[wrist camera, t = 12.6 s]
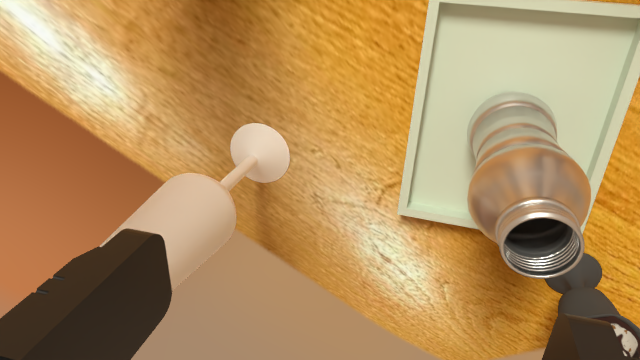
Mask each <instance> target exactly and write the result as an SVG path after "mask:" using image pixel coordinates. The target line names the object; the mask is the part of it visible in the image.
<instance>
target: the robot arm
mask: <svg viewBox="0 0 640 360" xmlns="http://www.w3.org/2000/svg"><path fill="white" fill-rule="evenodd" d="M171 296H172V287H171V280H170V274H169V267H168V260H167V254H166V247H165V242H164V239H163V237H162V236H161V235H159V234H155V233H150V232H145V231H140V230H134V229H129V228H127V229H123V230H121V231H120V232H119V233H118V234H116V235H115V236H114V237H113V238H112V239H110V240H109V241H108V242H107V243H106V244H105V245H103V246H102V247H97V248H94V249H93V250H90V251H88V252H86V253H84V254H82V255H80V256H78V257H76V258H74V259H72V260H71V261H70V262H69V263H68V264H66V265H65V266H64V267H63V268H62V269H60V270H59V271H58V272H57V273H55V274H54V276H53V278H52V279H48V280H47V281H46V282H45V283H43V284H42V285H41V286H40V287H38V288H37V291H36V293H31V294H30V295H29V296H27V297H26V298H25V299H24V300H22V301H21V302H20V303H19V304H18V305H16V306H15V307H14V308H13V309H11V310H10V311H9V312H8V313H7V314H5V315H4V316H3V317H2V318H1V319H0V360H131V358H132V357H133V356H134V354H135V353H136V352H137V351H138V349H139V348H140V347H141V345H142V344H143V343H144V342H145V340H146V339H147V338H148V337H149V335H150V334H151V333H152V331H153V330H154V329H155V328H156V326H157V325H158V324H159V323H160V321H161V320H162V319H163V317H164V316H165V314H166V312H167V310H168V308H169V305H170V301H171ZM542 360H640V359H638V358H633V357H628V356H625V355H624V353H623V350H622V348H621V345H620V343H619V341H618V338H617V336H616V333H615V331H614V329H613V327H612V325H611V324H610V323H609V322H606V321H601V320H596V319H591V318H586V317H581V316H575V315H570V314H565V313H561V314H560V315H559V316H558V317H557V319H556V322H555V324H554V327H553V330H552V333H551V336H550V338H549V341H548V344H547V347H546V349H545V352H544V355H543V358H542Z"/></svg>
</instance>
